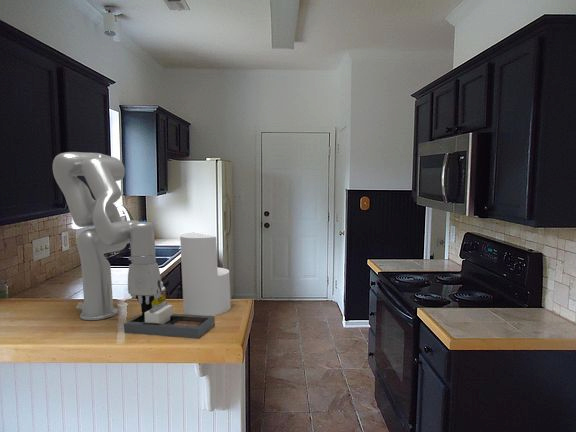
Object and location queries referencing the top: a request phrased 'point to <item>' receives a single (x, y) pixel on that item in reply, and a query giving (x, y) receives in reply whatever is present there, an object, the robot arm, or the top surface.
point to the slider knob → (159, 313)
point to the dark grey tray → (172, 326)
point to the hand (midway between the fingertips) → (147, 314)
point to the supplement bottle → (162, 298)
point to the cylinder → (203, 276)
